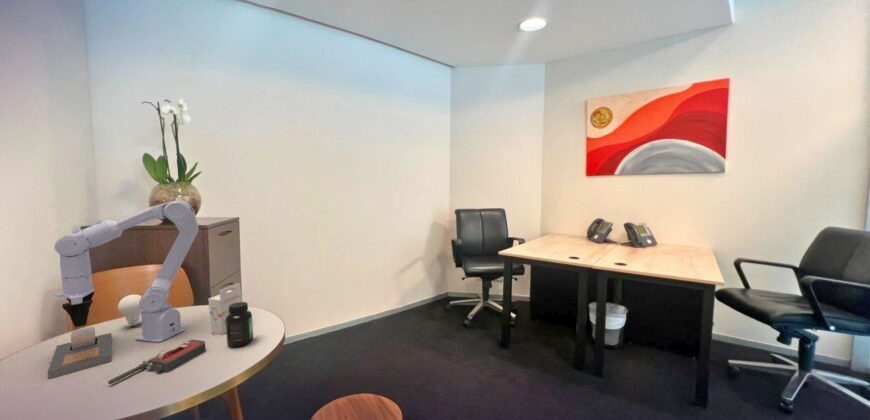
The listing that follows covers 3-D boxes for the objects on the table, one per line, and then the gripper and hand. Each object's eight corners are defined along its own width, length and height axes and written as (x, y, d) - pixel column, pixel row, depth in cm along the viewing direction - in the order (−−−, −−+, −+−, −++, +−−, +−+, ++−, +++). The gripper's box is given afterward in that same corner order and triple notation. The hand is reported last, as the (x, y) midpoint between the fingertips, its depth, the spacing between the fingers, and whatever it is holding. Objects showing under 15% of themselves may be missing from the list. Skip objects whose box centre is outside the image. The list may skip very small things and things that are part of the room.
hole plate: (111, 361, 87) (110, 354, 87) (48, 379, 79) (47, 370, 79) (111, 338, 100) (111, 332, 99) (57, 352, 92) (57, 345, 92)
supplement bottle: (258, 340, 98) (256, 302, 97) (236, 350, 92) (233, 310, 91) (244, 335, 101) (242, 299, 100) (222, 345, 95) (219, 306, 94)
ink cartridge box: (231, 322, 111) (229, 281, 110) (244, 323, 110) (241, 282, 109) (210, 333, 103) (206, 289, 102) (223, 334, 102) (220, 290, 101)
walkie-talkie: (188, 346, 96) (105, 387, 76) (187, 332, 95) (103, 370, 76) (211, 349, 94) (132, 393, 74) (210, 335, 93) (131, 375, 74)
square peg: (95, 350, 93) (93, 331, 92) (72, 356, 89) (70, 336, 89) (96, 345, 96) (94, 326, 95) (74, 351, 93) (72, 331, 92)
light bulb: (135, 321, 112) (133, 291, 111) (152, 322, 111) (149, 292, 110) (114, 330, 105) (111, 298, 104) (131, 331, 105) (128, 299, 104)
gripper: (58, 273, 93) (63, 318, 94) (51, 284, 83) (56, 334, 84) (93, 269, 98) (98, 311, 99) (91, 278, 88) (95, 326, 89)
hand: (81, 321), depth 92 cm, fingers open, 7 cm apart
